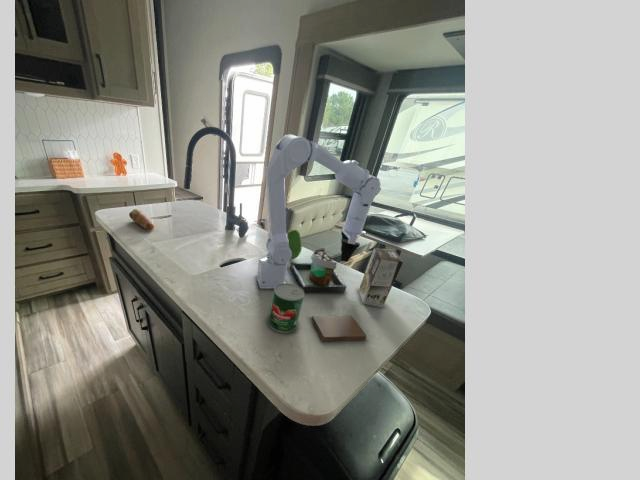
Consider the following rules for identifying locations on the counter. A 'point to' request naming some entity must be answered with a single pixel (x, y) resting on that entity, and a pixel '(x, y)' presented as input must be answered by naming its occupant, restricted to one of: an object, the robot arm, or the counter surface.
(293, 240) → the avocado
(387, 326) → the counter surface
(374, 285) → the coffee box
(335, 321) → the cutting board
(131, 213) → the bread
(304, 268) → the dark square tray
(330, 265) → the food container
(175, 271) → the counter surface
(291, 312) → the canned tomato
